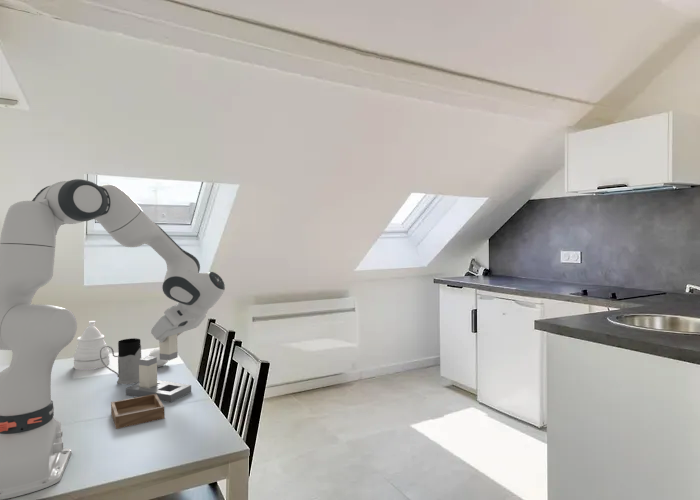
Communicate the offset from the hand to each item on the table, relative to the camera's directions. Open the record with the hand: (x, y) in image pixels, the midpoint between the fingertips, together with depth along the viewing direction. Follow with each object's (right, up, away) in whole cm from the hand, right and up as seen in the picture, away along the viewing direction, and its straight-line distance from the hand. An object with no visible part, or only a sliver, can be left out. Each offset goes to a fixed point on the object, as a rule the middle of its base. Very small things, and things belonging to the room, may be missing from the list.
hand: (166, 338), depth 153 cm
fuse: (-8, -19, +4) cm, 21 cm away
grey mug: (-23, -19, +15) cm, 33 cm away
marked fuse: (+1, -7, 0) cm, 7 cm away
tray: (-2, -20, -16) cm, 26 cm away
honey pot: (-45, -18, +35) cm, 60 cm away
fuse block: (-4, -19, +2) cm, 20 cm away
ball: (-17, -18, +33) cm, 41 cm away
